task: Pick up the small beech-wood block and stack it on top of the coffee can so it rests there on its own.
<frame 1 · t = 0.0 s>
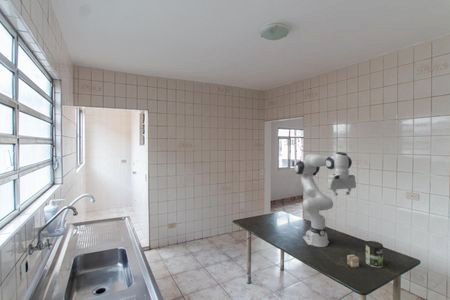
hand: (341, 195, 166), 48 cm above the table, tool pointing down, fingers open, 8 cm apart
beech block: (353, 265, 164), on the table
coffee can: (374, 264, 165), on the table
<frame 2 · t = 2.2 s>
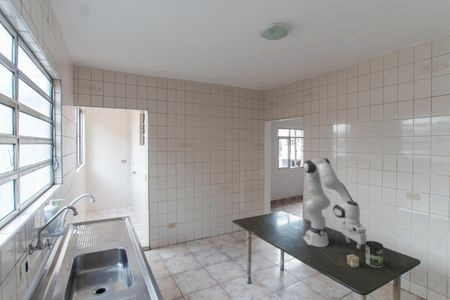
hand: (353, 245, 163), 14 cm above the table, tool pointing down, fingers open, 8 cm apart
nothing on the table moved.
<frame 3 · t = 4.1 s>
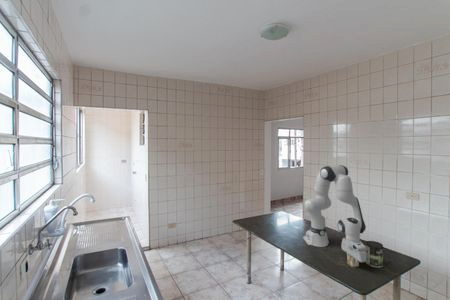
hand: (353, 261, 164), 2 cm above the table, tool pointing down, fingers closed on beech block, 5 cm apart
beech block: (353, 264, 164), on the table, touching gripper
everything else where it was.
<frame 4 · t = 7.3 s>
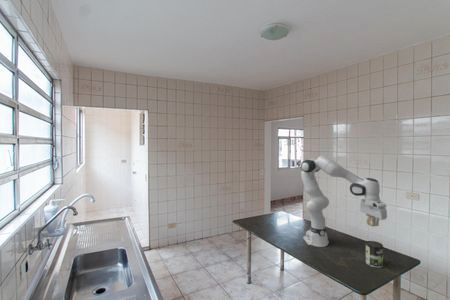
hand: (372, 221, 163), 30 cm above the table, tool pointing down, fingers closed on beech block, 5 cm apart
beech block: (372, 224, 163), point 27 cm above the table, touching gripper
everything else where it was.
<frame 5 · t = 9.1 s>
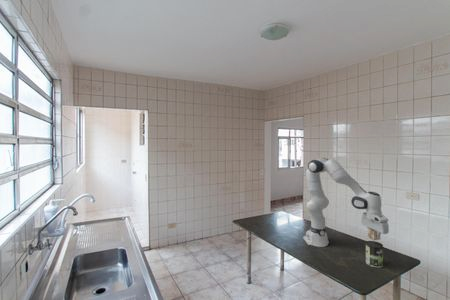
hand: (374, 235, 164), 20 cm above the table, tool pointing down, fingers closed on beech block, 5 cm apart
beech block: (374, 238, 164), point 18 cm above the table, touching gripper
everything else where it was.
when the fingers open (18 cm above the table, at t = 10.5 s): beech block drops 1 cm, resting on coffee can.
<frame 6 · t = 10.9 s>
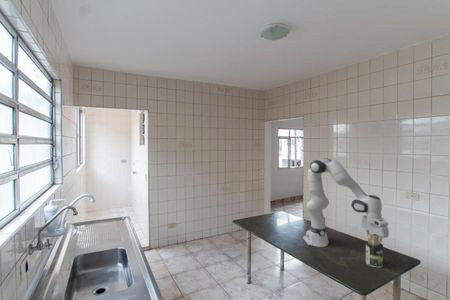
hand: (374, 238, 164), 18 cm above the table, tool pointing down, fingers open, 8 cm apart
beech block: (374, 243, 164), point 14 cm above the table, touching coffee can
coffee can: (374, 264, 165), on the table, touching beech block
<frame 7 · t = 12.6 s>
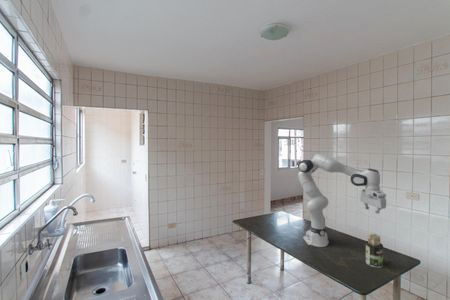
hand: (372, 211, 168), 35 cm above the table, tool pointing down, fingers open, 8 cm apart
nothing on the table moved.
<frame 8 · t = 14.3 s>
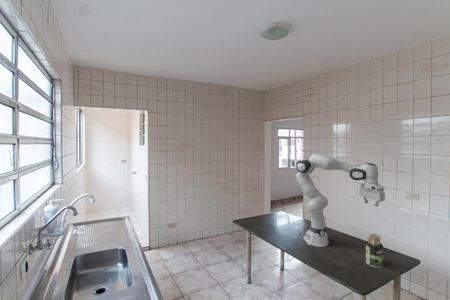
hand: (371, 204, 172), 39 cm above the table, tool pointing down, fingers open, 8 cm apart
nothing on the table moved.
at the end: beech block inside the target area on the coffee can (0.0 cm from its centre), point 14.3 cm above the coffee can's base; coffee can tilted 0°; the gripper is holding nothing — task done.
